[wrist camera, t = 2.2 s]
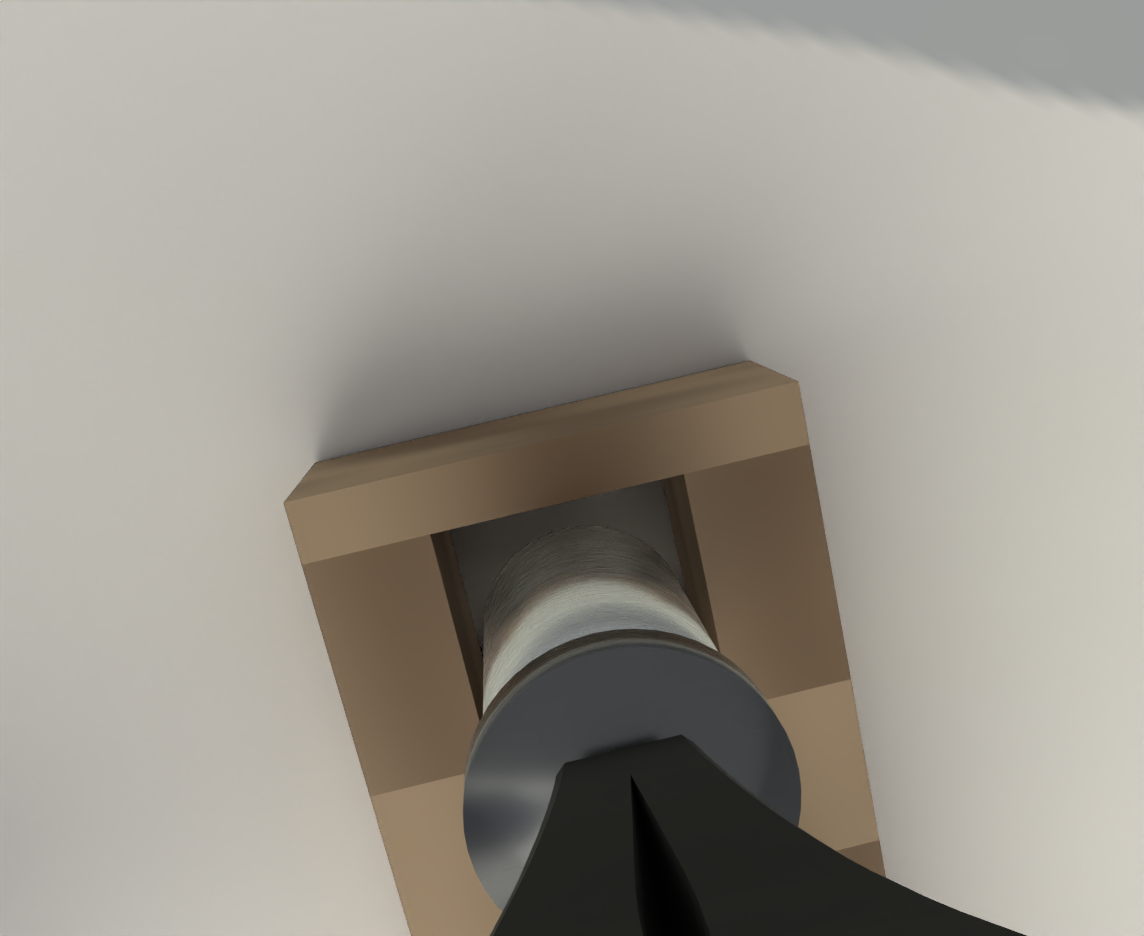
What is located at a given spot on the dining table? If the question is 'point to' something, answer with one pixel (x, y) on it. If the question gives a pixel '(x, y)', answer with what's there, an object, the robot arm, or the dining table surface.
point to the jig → (544, 478)
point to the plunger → (600, 689)
